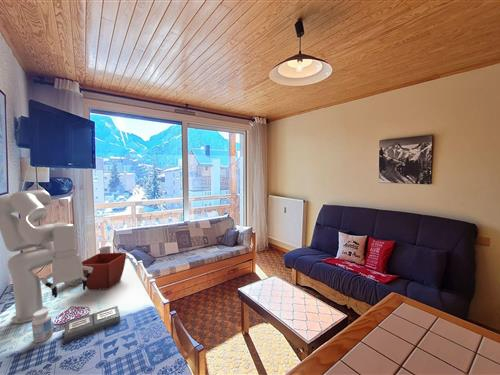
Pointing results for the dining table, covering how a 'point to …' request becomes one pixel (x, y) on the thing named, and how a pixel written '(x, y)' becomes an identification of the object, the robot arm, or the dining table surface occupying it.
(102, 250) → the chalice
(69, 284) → the decorative egg
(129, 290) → the dining table surface
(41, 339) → the pill bottle
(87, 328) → the panel
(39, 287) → the robot arm
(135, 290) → the dining table surface
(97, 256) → the plant pot
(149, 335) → the dining table surface
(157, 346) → the dining table surface
